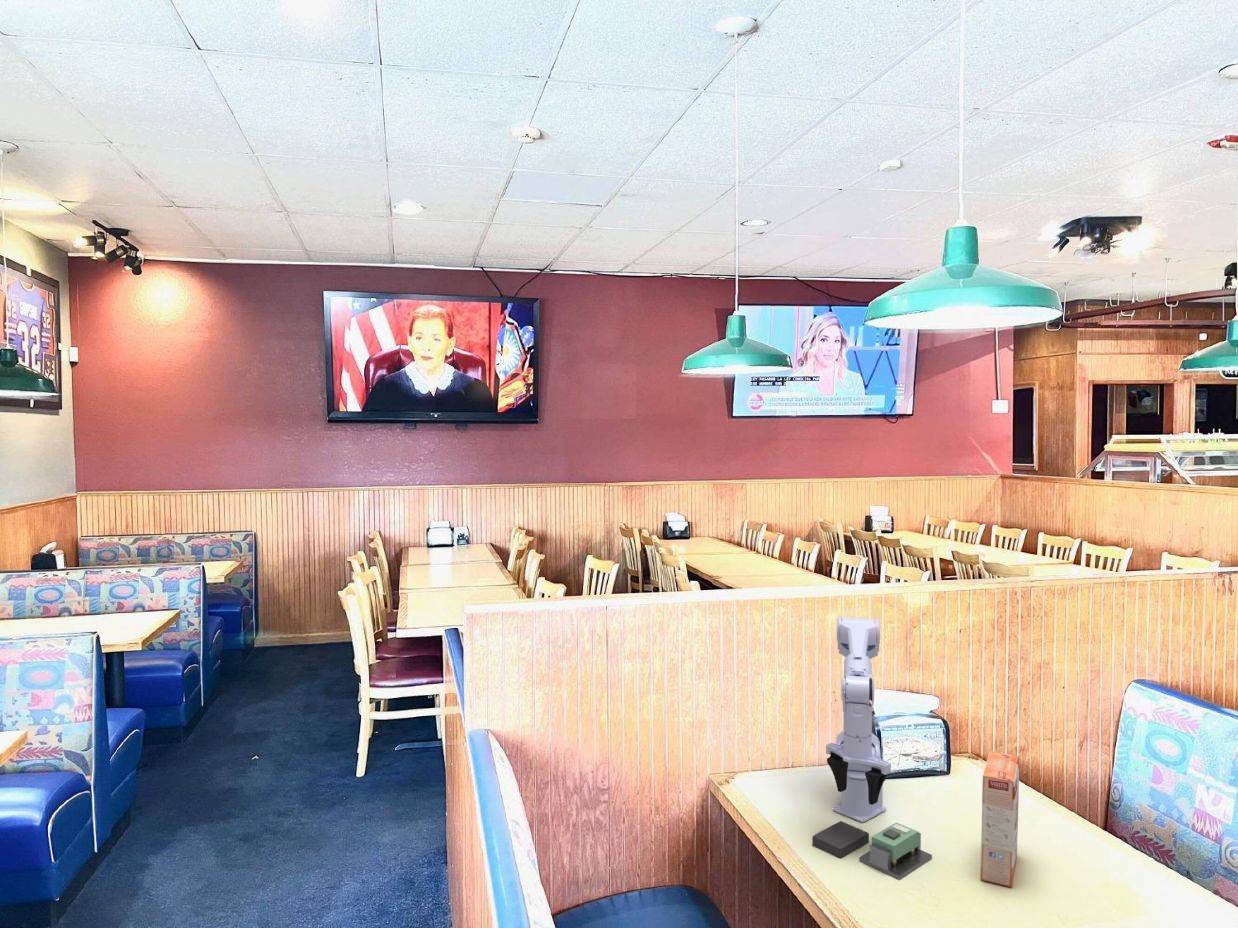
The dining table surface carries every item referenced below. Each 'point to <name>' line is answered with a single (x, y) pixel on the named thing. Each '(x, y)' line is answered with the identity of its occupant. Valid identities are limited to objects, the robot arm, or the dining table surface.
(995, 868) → the cracker box
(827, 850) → the pad
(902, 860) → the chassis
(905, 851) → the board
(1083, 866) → the dining table surface
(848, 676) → the robot arm
